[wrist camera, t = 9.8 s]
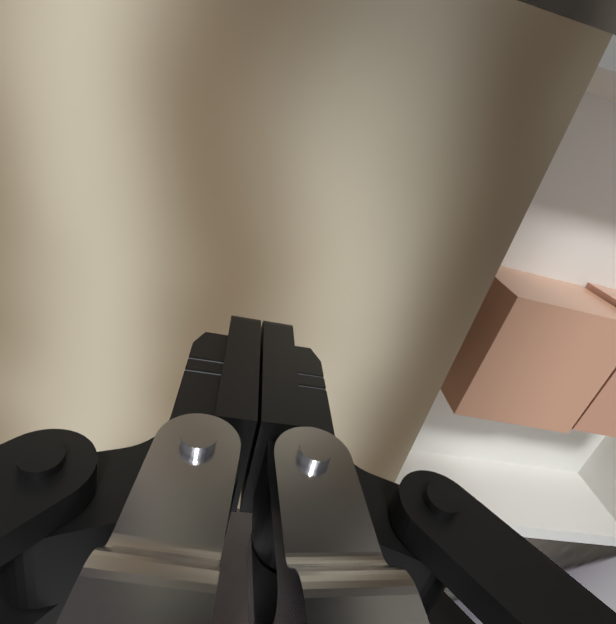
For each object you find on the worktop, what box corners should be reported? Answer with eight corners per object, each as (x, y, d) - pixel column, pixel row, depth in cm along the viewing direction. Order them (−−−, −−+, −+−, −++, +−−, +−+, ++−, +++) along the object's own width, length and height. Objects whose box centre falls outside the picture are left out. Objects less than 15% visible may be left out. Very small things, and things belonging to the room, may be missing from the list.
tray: (817, 148, 14) (991, 168, 11) (573, 472, 22) (632, 548, 18) (517, 48, 12) (613, 34, 9) (357, 443, 20) (375, 522, 16)
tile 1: (582, 285, 16) (645, 326, 13) (524, 381, 18) (567, 433, 15) (474, 259, 15) (518, 296, 12) (425, 362, 17) (454, 413, 14)
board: (517, 48, 12) (613, 34, 9) (357, 443, 20) (375, 522, 16) (-6, -125, 10) (-159, -239, 6) (28, 399, 17) (-36, 481, 14)
